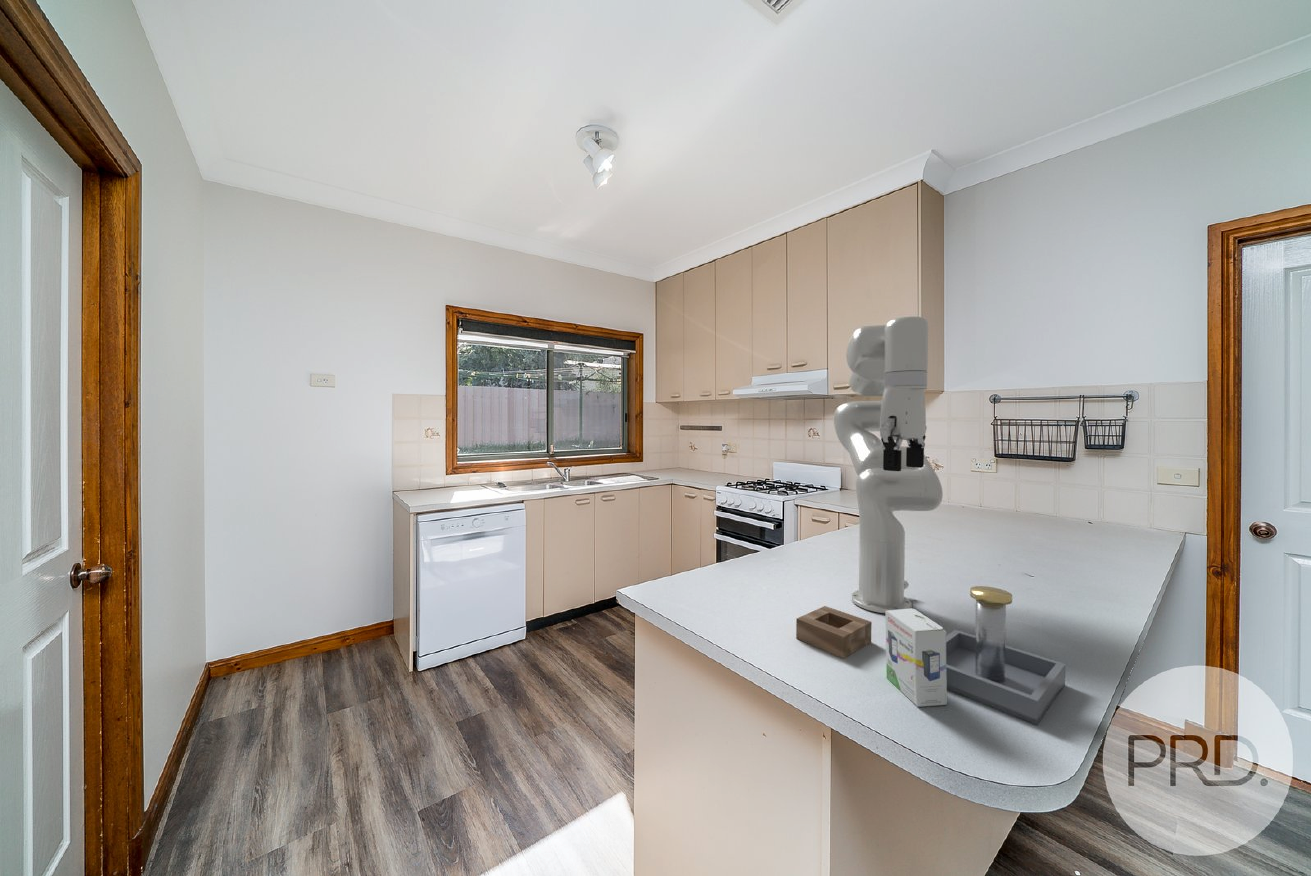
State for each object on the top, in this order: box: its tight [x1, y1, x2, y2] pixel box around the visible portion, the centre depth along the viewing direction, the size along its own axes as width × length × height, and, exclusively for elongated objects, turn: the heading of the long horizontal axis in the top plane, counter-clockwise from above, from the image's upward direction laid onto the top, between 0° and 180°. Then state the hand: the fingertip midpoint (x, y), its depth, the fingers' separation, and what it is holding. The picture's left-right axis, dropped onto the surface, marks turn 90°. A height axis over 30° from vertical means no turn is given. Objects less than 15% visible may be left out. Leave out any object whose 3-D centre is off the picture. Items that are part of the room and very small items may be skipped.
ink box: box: [885, 608, 948, 707], centre depth 75 cm, size 9×5×12 cm, turn 5°
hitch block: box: [795, 605, 872, 659], centre depth 92 cm, size 10×10×4 cm
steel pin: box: [969, 585, 1013, 683], centre depth 78 cm, size 6×6×14 cm
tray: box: [946, 629, 1067, 726], centre depth 78 cm, size 16×16×4 cm
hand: (903, 468), depth 94 cm, fingers open, 9 cm apart
